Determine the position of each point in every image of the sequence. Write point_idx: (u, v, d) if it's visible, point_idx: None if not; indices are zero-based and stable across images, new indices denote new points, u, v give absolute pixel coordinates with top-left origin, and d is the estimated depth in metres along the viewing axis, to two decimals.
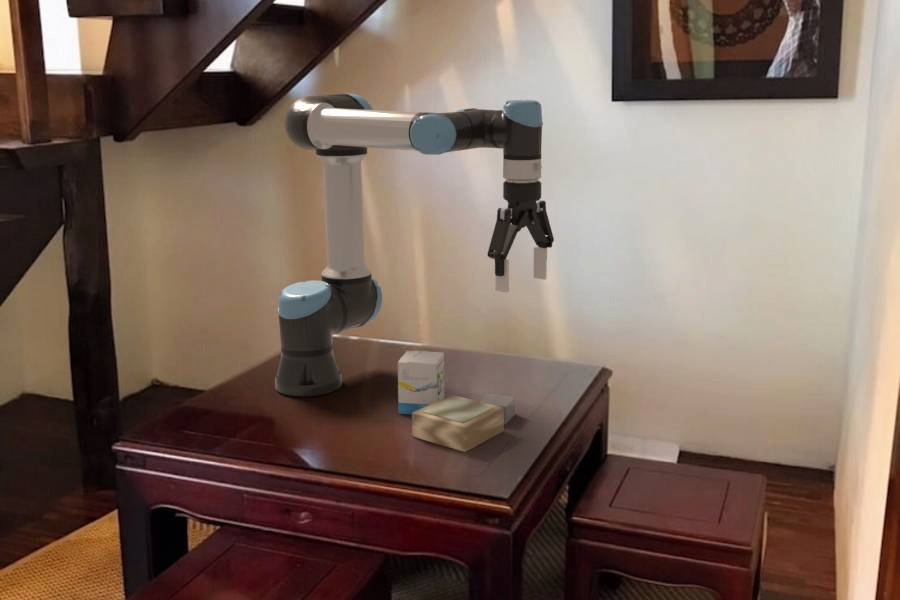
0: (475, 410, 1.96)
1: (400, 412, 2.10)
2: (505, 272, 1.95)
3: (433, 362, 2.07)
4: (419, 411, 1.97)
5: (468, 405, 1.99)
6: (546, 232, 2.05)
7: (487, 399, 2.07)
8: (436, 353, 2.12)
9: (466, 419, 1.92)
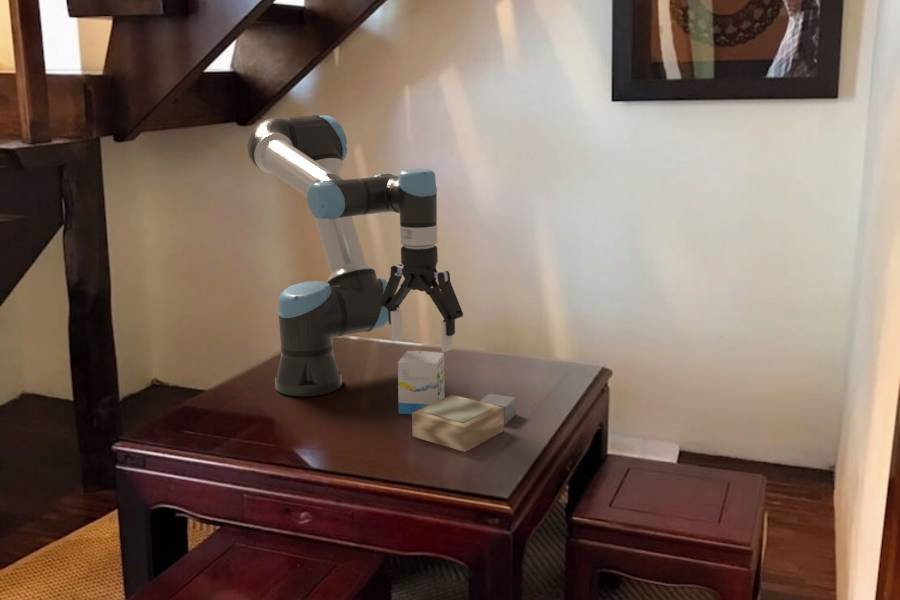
0: (475, 410, 1.96)
1: (400, 412, 2.10)
2: None
3: (433, 362, 2.07)
4: (419, 411, 1.97)
5: (468, 405, 1.99)
6: None
7: (487, 399, 2.07)
8: (436, 353, 2.12)
9: (466, 419, 1.92)
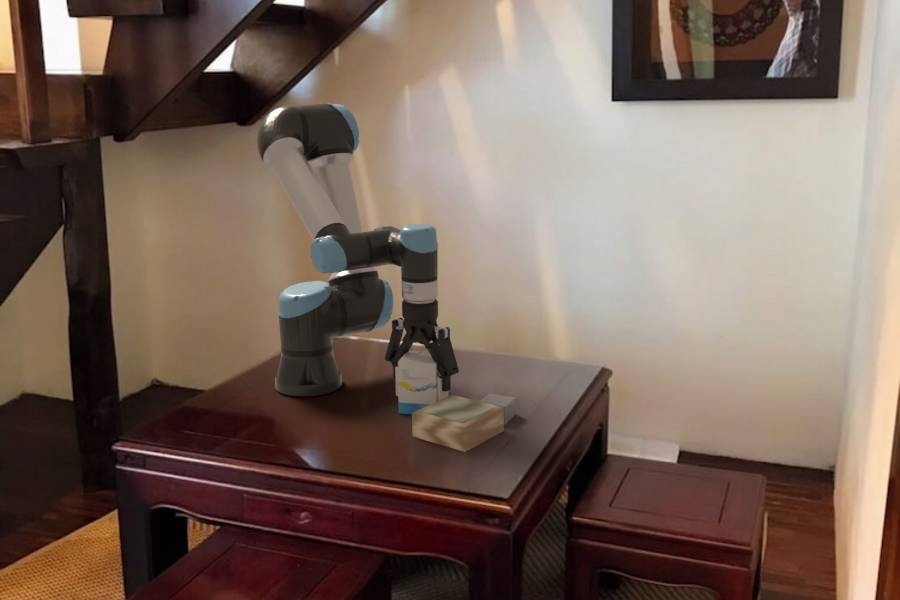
0: (475, 410, 1.96)
1: (400, 412, 2.10)
2: None
3: (433, 362, 2.06)
4: (419, 411, 1.97)
5: (468, 405, 1.99)
6: None
7: (487, 399, 2.07)
8: None
9: (466, 419, 1.92)
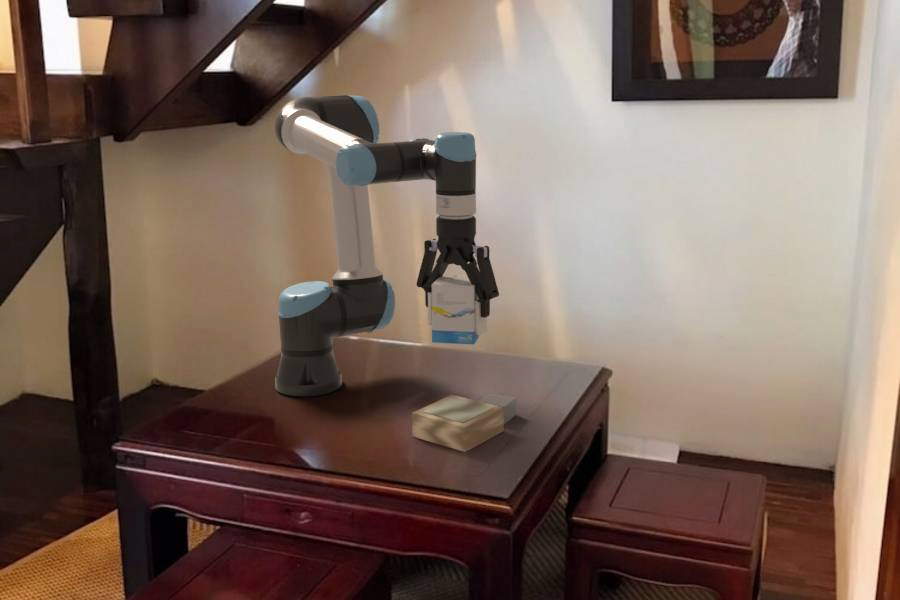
0: (475, 410, 1.96)
1: (434, 341, 1.90)
2: None
3: (470, 284, 1.87)
4: (419, 411, 1.97)
5: (468, 405, 1.99)
6: None
7: (487, 398, 2.07)
8: None
9: (466, 419, 1.92)
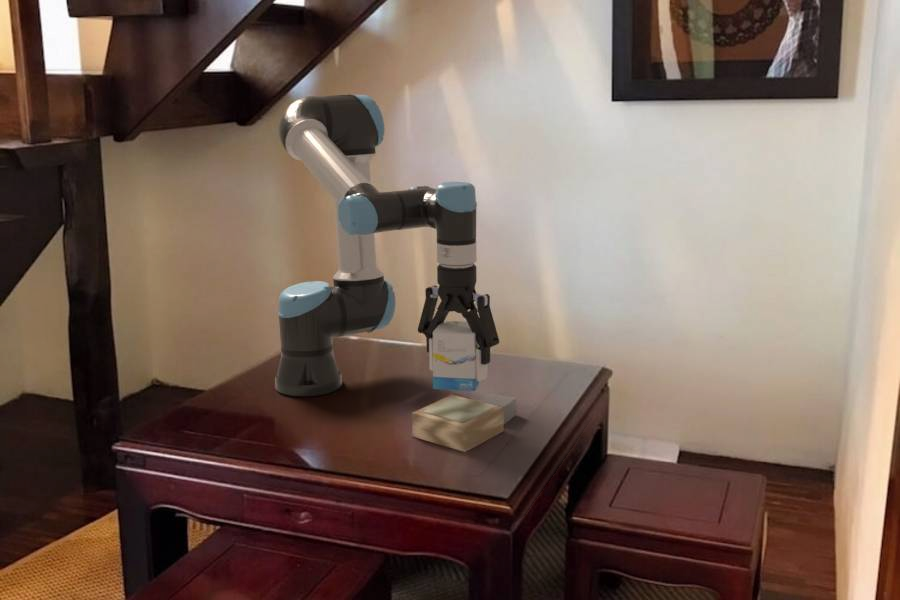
0: (475, 410, 1.96)
1: (435, 387, 1.93)
2: None
3: (471, 332, 1.90)
4: (419, 411, 1.97)
5: (468, 405, 1.99)
6: None
7: (487, 398, 2.07)
8: None
9: (466, 419, 1.92)
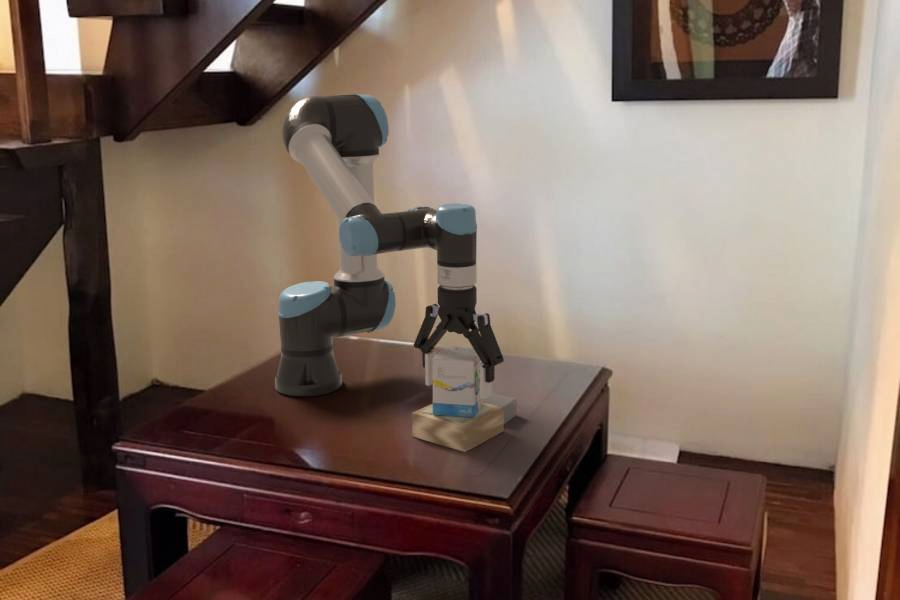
0: None
1: (434, 413, 1.94)
2: None
3: (470, 359, 1.91)
4: (419, 411, 1.97)
5: None
6: None
7: (487, 398, 2.07)
8: (474, 350, 1.97)
9: (466, 419, 1.92)
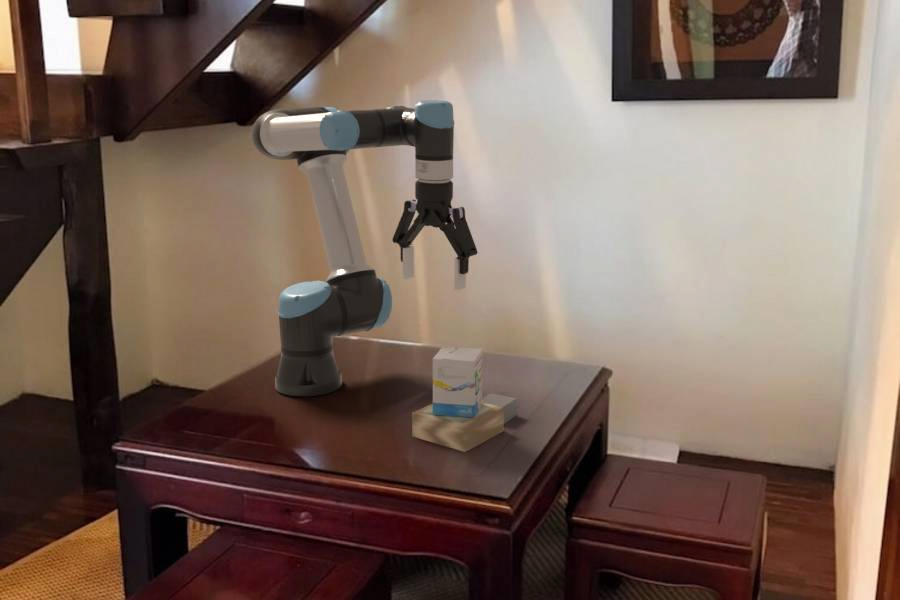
0: None
1: (434, 413, 1.94)
2: None
3: (470, 359, 1.91)
4: (419, 411, 1.97)
5: None
6: None
7: (488, 398, 2.07)
8: (474, 350, 1.97)
9: (466, 419, 1.92)
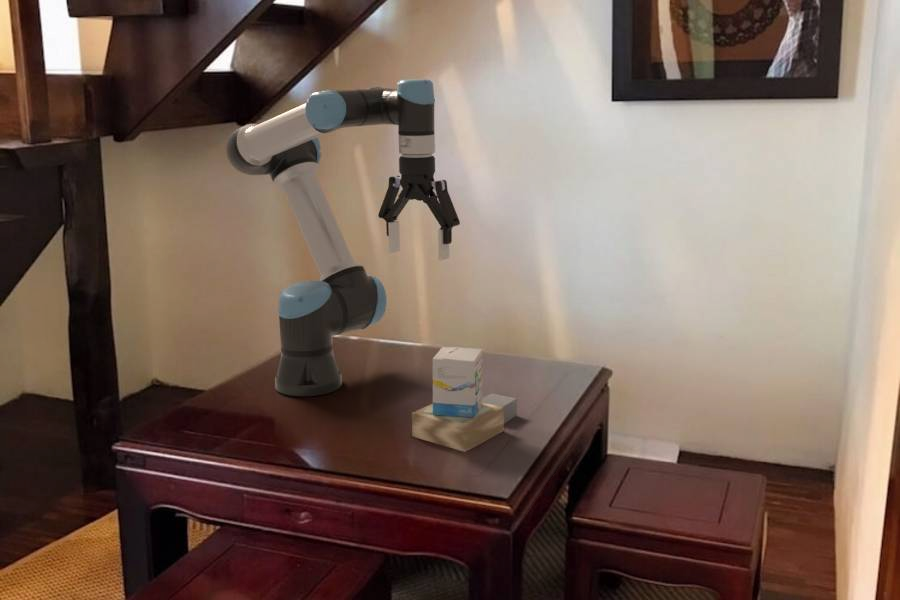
0: None
1: (434, 413, 1.94)
2: None
3: (470, 359, 1.91)
4: (419, 411, 1.97)
5: None
6: None
7: (488, 398, 2.07)
8: (474, 350, 1.97)
9: (466, 419, 1.92)
